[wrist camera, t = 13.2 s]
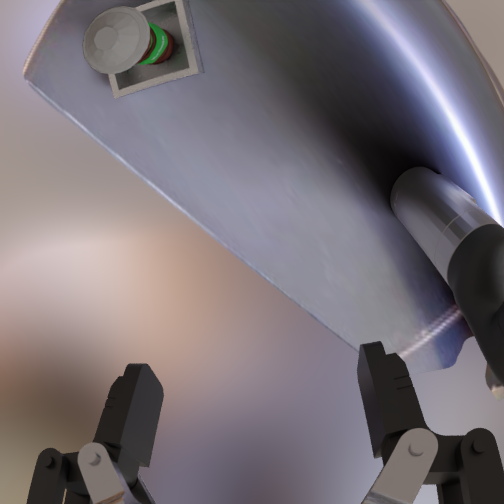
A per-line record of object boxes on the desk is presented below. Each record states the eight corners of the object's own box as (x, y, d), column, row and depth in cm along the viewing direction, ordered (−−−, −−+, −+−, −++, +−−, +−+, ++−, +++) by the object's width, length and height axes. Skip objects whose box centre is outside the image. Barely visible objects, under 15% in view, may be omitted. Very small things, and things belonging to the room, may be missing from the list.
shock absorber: (166, 78, 33) (119, 86, 20) (123, 60, 31) (61, 62, 19) (191, 34, 30) (157, 15, 17) (147, 16, 28) (93, -5, 16)
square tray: (188, 0, 28) (180, -8, 24) (204, 72, 33) (198, 72, 30) (111, 26, 29) (96, 23, 25) (127, 94, 34) (114, 98, 30)
